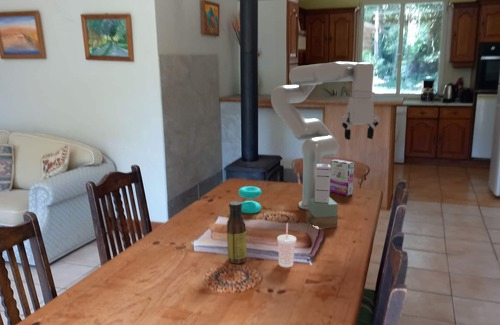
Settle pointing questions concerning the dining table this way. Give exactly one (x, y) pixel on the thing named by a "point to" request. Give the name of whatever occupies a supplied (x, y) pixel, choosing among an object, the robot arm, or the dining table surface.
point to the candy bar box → (342, 177)
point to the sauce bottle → (236, 234)
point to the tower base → (321, 221)
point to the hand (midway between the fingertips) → (358, 138)
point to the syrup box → (322, 183)
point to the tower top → (322, 208)
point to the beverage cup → (286, 249)
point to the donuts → (250, 193)
